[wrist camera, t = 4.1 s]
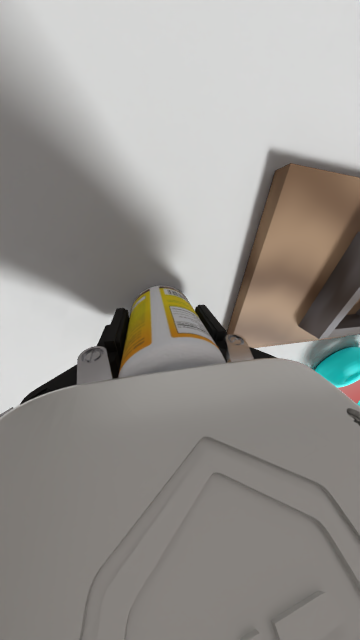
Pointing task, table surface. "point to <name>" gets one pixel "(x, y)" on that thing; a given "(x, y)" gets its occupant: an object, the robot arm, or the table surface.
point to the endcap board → (303, 261)
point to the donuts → (341, 367)
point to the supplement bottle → (165, 335)
